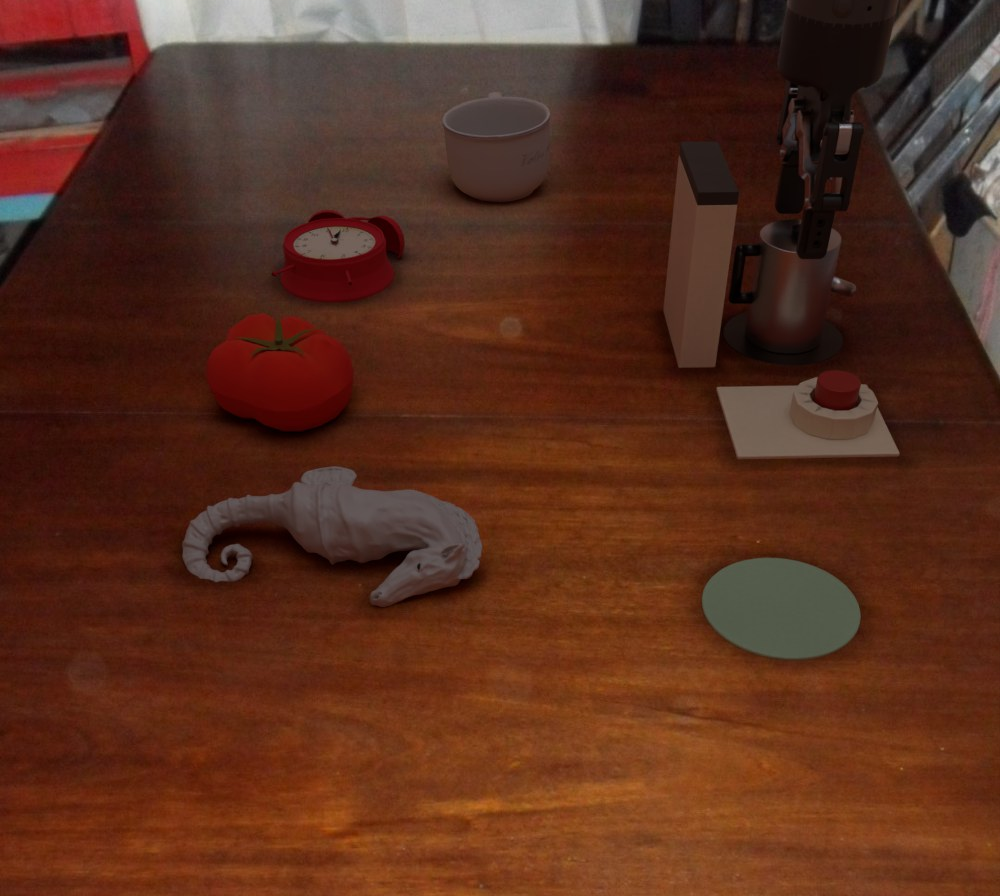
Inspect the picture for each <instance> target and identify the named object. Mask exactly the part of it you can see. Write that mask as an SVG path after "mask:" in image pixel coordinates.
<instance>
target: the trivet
mask: <svg viewBox="0 0 1000 896" xmlns="http://www.w3.org/2000/svg"><path fill="white" fill-rule="evenodd" d="M700 604H701V609H702V613H703V615H704V618H705V620H706V621H707V623H708V624H709V626H710V627H711V629H712V630H713V631H715V632H716V634H717V635H718V636H720V637H721V638H722V639H724V640H725V641H726V642H728V643H730V644H731V645H733V646H734V647H736V648H738V649H740V650H742V651H745V652H747V653H750V654H753V655H755V656H759V657H763V658H767V659H772V660H781V661H809V660H814V659H820V658H822V657H827V656H829V655H831V654H834V653H836V652H838V651H840V650H841V649H843V648H844V647H846V646H848V644H850V643H851V641H852V640H853V639H854V638H855V637H856V635H857V633H858V631H859V628H860V625H861V619H862V616H861V609H860V606H859V602H858V600H857V598H856V596H855V595H854V594H853V592H852V591H851V590H850V588H849V587H848V586H847V585H846V584H845V583H844V582H842V580H840V579H839V578H837V577H836V576H834V575H833V574H832V573H829V572H827V571H826V570H824V569H822V568H819V567H817V566H816V565H813V564H810V563H806V562H802V561H799V560H795V559H789V558H781V557H756V558H750V559H749V558H748V559H744V560H741V561H737V562H735V563H734V562H733V563H731V564H729V565H727V566H725V567H722V568H721V569H720V570H718V571H717V572H716V573H715V574H713V576H711V577H710V578H709V580H708V581H707V582H706V584H705V586H704V588H703V591H702V594H701V602H700Z"/></svg>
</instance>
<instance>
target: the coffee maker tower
mask: <svg viewBox="0 0 1000 896" xmlns="http://www.w3.org/2000/svg"><path fill="white" fill-rule="evenodd" d="M739 196H740V190H739V188H738V186H737V184H736V181H735V179H734V176H733V174H732V172H731V169H730V167H729V165H728V162H727V161H726V158H725V155H724V153H723V151H722V148H721V146H720V144H719V141H680V143H679V151H678V161H677V170H676V181H675V189H674V200H673V209H672V218H671V219H672V221H671V230H670V238H669V249H668V260H667V270H666V280H665V288H664V289H665V290H664V298H663V299H664V301H663V309H662V310H663V311H662V312H663V315H664V318H665V323H666V326H667V329H668V333H669V337H670V341H671V344H672V348H673V352H674V356H675V360H676V364H677V367H678V368H680V369H683V368H685V369H686V368H691V369H692V368H716V364H717V357H718V349H719V342H720V334H721V327H722V322H723V321H722V320H723V313H724V306H725V299H726V291H727V284H728V279H729V271H730V270H729V269H730V261H731V255H732V249H733V240H734V232H735V227H736V226H735V225H736V220H737V219H736V218H737V212H738V203H739V198H740V197H739Z"/></svg>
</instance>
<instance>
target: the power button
mask: <svg viewBox="0 0 1000 896" xmlns="http://www.w3.org/2000/svg"><path fill="white" fill-rule="evenodd" d="M817 377H818V378H817V383H816V388H815V392H814V397H813V400H814V403H816V404H817V405H819V406H820V407H823V408H827V409H830V410H834V411H846V410H851V409H853V408H854V407H855V406H856V404H857V399H858V395H859V391H860V387H861V384H862V381H861V379H860V378H859V377H858V376H857V375H855V374H854V373H852V372H848V371H844V370H839V369H838V370H837V369H831V370H826V371H823V372H821V373H820V374H819V375H818V376H817Z"/></svg>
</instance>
